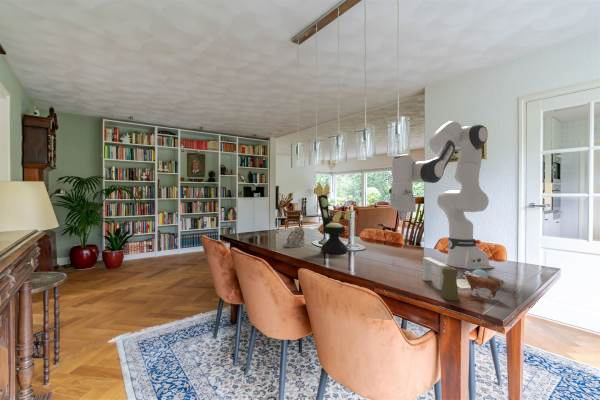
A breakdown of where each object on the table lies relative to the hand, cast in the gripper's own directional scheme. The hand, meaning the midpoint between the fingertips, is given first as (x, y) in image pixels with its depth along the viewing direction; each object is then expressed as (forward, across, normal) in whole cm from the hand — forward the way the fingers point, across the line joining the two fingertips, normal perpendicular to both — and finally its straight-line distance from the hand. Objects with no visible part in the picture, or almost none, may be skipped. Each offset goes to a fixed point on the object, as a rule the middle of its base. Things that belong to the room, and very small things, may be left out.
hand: (402, 220), depth 140 cm
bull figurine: (+26, -28, -17) cm, 42 cm away
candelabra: (+26, +56, +24) cm, 66 cm away
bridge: (+25, -14, -7) cm, 30 cm away
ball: (+23, -14, -27) cm, 38 cm away
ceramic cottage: (+26, +82, +46) cm, 97 cm away
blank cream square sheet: (+26, -14, -21) cm, 36 cm away
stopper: (+26, -14, -31) cm, 43 cm away
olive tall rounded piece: (+25, -29, -5) cm, 39 cm away
